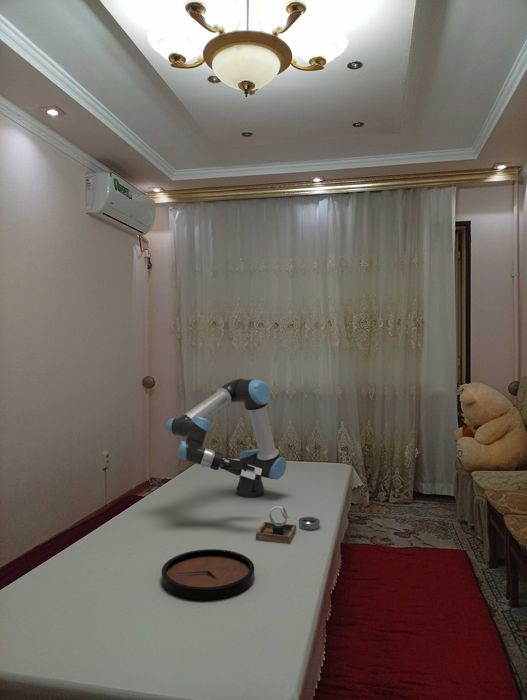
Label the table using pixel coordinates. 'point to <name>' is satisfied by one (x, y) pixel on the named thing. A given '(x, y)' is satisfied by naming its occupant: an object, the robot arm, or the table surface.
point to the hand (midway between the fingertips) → (258, 474)
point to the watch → (278, 527)
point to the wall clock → (207, 575)
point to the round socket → (309, 523)
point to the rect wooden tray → (267, 534)
